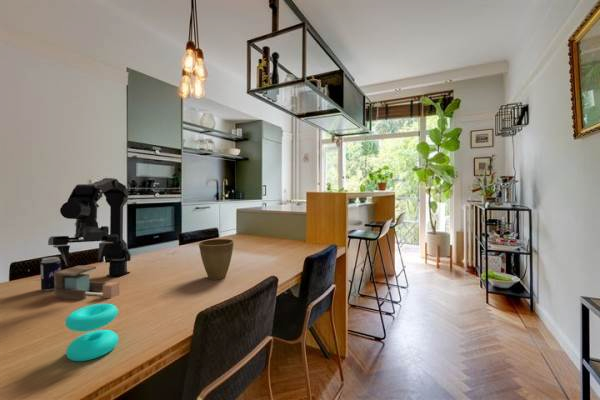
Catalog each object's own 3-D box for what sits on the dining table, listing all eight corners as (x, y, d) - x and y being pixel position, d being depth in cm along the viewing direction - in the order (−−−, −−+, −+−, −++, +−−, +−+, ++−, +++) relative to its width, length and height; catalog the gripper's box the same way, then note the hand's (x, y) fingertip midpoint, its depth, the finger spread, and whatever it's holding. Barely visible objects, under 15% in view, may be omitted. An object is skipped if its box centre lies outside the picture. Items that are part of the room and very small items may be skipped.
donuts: (100, 299, 72) (127, 305, 68) (101, 336, 72) (127, 344, 68) (55, 315, 62) (82, 323, 59) (56, 357, 63) (83, 368, 59)
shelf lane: (78, 288, 106) (78, 265, 106) (105, 290, 104) (105, 267, 104) (54, 297, 97) (54, 272, 97) (83, 299, 95) (83, 274, 95)
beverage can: (49, 292, 102) (48, 260, 101) (37, 290, 103) (36, 259, 102) (64, 287, 107) (64, 257, 107) (53, 285, 108) (52, 256, 108)
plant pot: (221, 270, 132) (221, 237, 131) (240, 276, 122) (240, 241, 122) (192, 277, 120) (192, 241, 120) (211, 285, 111) (211, 246, 110)
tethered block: (78, 290, 104) (77, 273, 103) (121, 293, 101) (120, 276, 101) (65, 295, 99) (64, 277, 99) (109, 299, 96) (109, 280, 96)
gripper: (60, 218, 84) (57, 270, 82) (126, 219, 99) (124, 262, 98) (49, 219, 90) (46, 267, 89) (112, 219, 105) (111, 260, 104)
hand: (84, 264), depth 95 cm, fingers open, 9 cm apart
